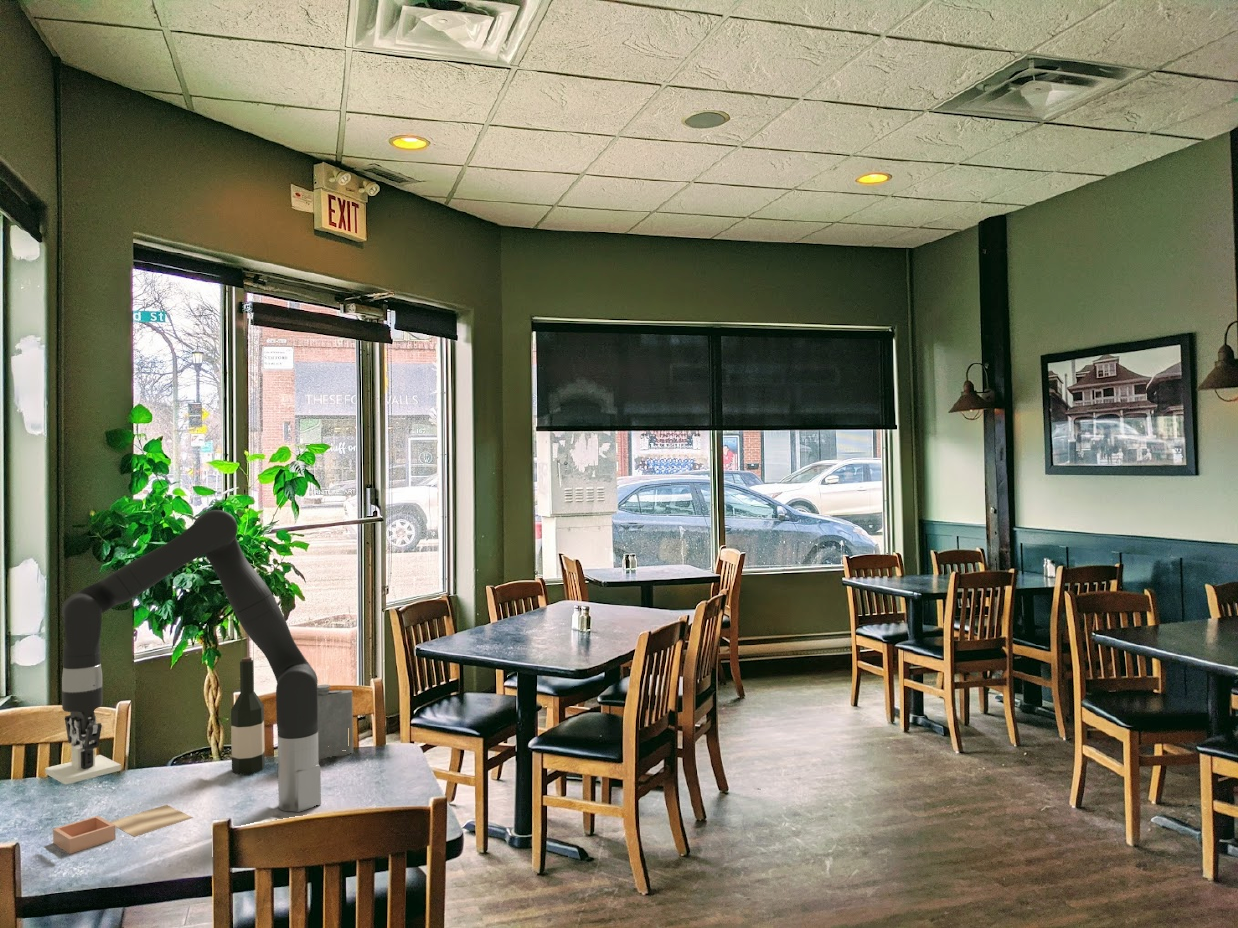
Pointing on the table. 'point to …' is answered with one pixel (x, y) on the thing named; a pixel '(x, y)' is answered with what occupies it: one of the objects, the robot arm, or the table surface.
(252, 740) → the wine bottle
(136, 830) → the mat
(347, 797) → the table surface
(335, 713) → the hip flask
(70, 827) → the dish
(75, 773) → the lid
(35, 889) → the table surface
